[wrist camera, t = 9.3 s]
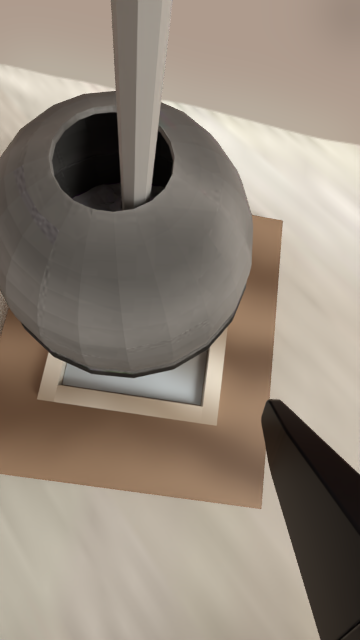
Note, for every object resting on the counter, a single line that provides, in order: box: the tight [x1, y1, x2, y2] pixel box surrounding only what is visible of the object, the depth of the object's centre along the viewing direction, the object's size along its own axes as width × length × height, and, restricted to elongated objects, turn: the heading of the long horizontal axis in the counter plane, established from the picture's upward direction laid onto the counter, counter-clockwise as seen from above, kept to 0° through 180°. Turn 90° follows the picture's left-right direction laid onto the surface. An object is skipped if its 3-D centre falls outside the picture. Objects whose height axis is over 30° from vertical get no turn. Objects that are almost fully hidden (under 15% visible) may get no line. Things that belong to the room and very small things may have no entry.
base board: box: [0, 215, 283, 509], centre depth 21 cm, size 20×18×2 cm
